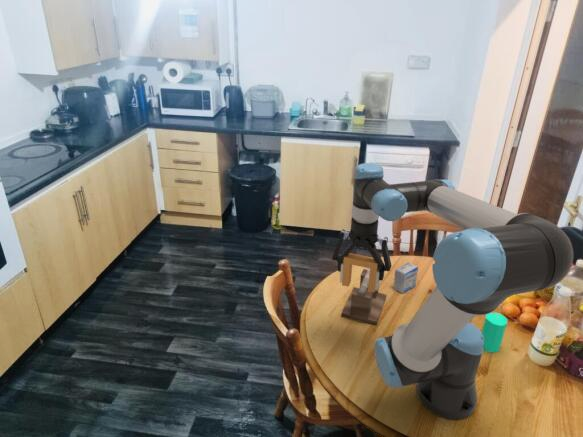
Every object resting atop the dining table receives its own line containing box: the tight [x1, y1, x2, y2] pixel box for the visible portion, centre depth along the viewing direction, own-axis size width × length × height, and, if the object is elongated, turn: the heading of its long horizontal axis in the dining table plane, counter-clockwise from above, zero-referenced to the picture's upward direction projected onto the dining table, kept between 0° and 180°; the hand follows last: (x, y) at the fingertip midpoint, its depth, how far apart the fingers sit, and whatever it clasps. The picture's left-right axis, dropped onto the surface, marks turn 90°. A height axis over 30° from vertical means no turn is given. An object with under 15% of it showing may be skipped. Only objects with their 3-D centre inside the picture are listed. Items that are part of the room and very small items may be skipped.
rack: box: [340, 268, 387, 326], centre depth 145 cm, size 16×12×12 cm
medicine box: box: [392, 262, 419, 295], centre depth 156 cm, size 8×4×9 cm, turn 129°
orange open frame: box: [341, 252, 378, 293], centre depth 128 cm, size 3×10×10 cm, turn 68°
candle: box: [481, 311, 509, 353], centre depth 128 cm, size 6×6×12 cm
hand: (359, 284), depth 130 cm, fingers closed on orange open frame, 10 cm apart
